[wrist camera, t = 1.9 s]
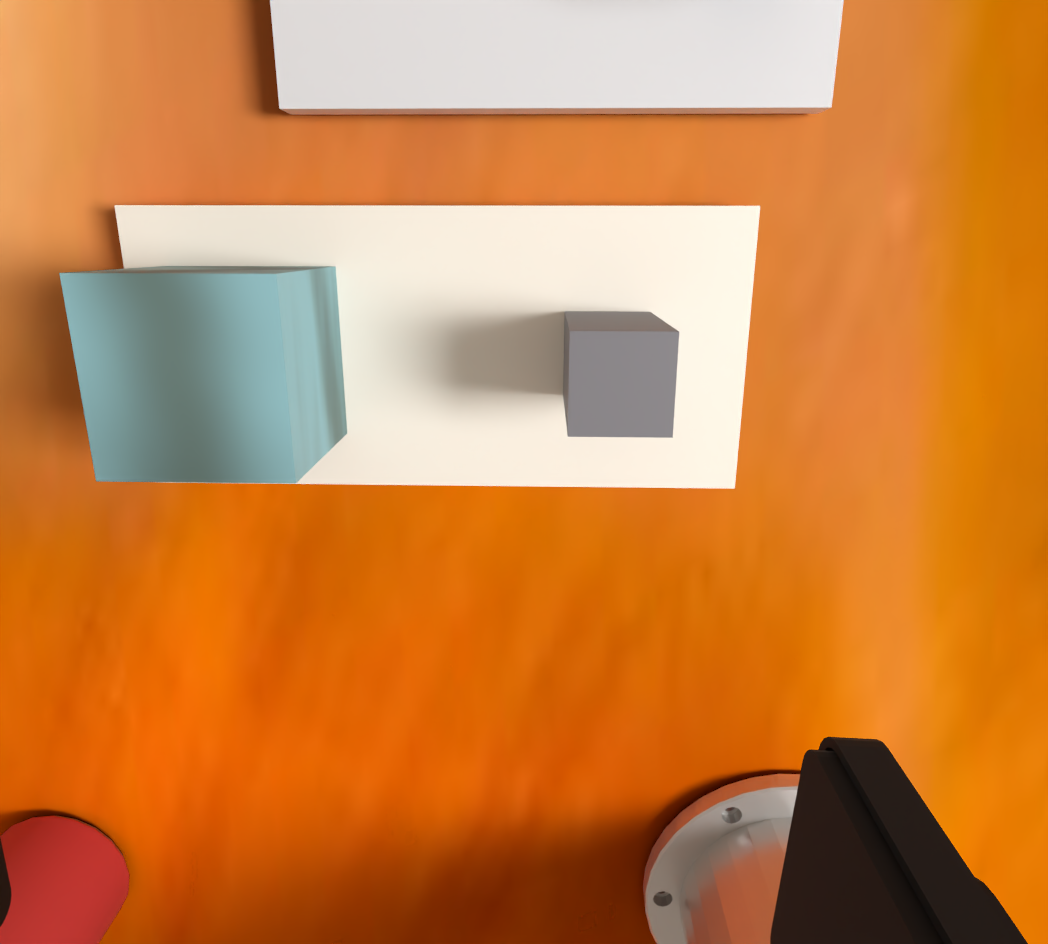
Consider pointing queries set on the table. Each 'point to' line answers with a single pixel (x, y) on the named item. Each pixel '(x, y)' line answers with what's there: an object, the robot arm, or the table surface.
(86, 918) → the beer can
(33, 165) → the table surface
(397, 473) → the strip
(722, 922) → the robot arm
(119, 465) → the block
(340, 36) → the empty strip
